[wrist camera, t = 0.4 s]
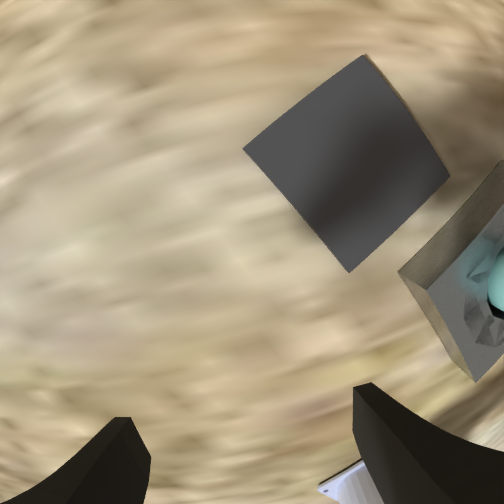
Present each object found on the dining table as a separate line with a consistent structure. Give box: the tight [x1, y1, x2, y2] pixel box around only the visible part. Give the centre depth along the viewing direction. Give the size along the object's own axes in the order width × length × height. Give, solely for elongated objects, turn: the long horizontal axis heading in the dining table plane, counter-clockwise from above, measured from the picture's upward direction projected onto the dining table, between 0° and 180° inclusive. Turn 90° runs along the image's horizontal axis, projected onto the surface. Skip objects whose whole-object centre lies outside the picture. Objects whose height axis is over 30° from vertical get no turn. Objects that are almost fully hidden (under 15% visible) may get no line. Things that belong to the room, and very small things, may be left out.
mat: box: [243, 55, 450, 273], centre depth 17 cm, size 9×9×1 cm
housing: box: [398, 160, 504, 383], centre depth 17 cm, size 10×12×4 cm
